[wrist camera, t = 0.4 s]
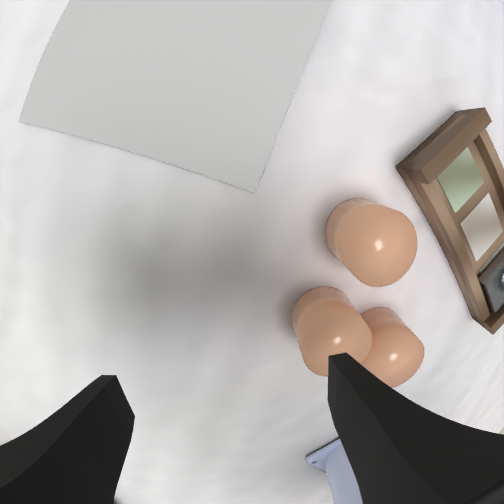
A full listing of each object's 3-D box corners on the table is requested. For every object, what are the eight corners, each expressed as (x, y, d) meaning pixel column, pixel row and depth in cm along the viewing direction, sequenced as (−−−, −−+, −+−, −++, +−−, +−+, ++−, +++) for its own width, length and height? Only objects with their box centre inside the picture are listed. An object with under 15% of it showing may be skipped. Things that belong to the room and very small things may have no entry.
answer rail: (519, 264, 20) (541, 275, 17) (472, 318, 21) (493, 334, 18) (457, 111, 16) (484, 107, 13) (395, 167, 17) (420, 169, 14)
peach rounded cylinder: (360, 314, 20) (383, 346, 16) (314, 350, 20) (328, 387, 17) (328, 274, 19) (349, 301, 15) (278, 313, 19) (287, 348, 16)
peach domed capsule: (406, 330, 20) (432, 359, 17) (364, 364, 21) (383, 397, 17) (383, 295, 20) (410, 323, 16) (337, 333, 20) (356, 367, 16)
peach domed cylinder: (395, 234, 18) (428, 252, 14) (349, 274, 19) (373, 301, 15) (362, 184, 17) (393, 192, 14) (312, 227, 18) (331, 245, 14)
